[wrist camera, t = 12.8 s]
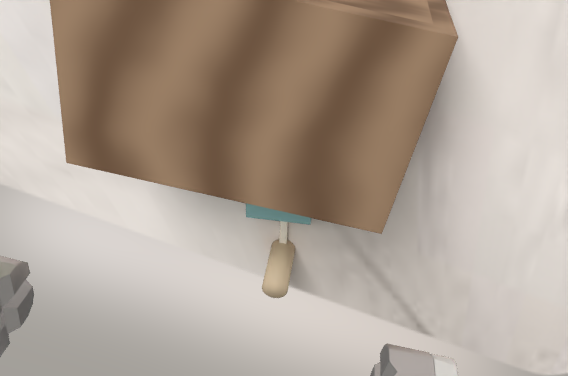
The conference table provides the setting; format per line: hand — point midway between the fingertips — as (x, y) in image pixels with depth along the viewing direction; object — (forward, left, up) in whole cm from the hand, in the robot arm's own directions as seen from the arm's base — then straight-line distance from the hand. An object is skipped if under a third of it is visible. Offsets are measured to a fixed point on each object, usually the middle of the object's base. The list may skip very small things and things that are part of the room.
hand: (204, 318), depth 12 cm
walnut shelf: (+3, +6, -31) cm, 32 cm away
